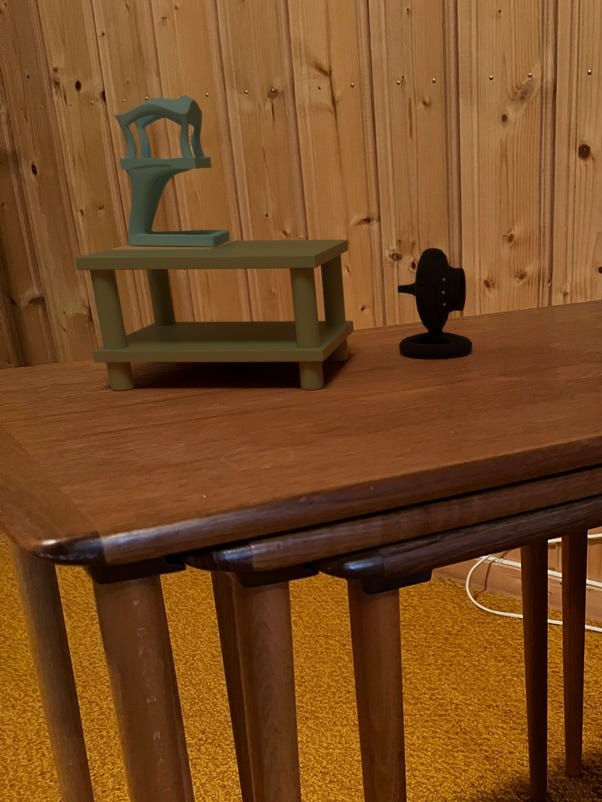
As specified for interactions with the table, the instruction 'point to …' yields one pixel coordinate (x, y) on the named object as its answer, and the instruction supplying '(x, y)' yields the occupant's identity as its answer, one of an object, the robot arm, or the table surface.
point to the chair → (162, 171)
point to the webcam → (436, 307)
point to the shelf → (223, 339)
